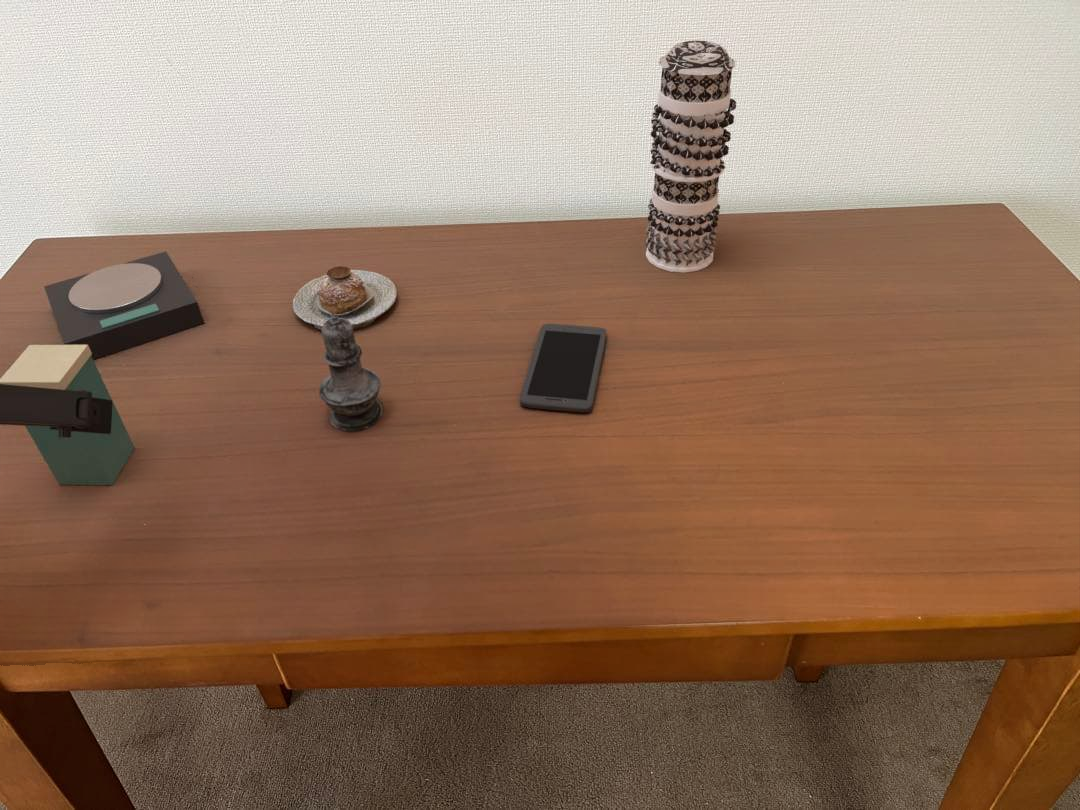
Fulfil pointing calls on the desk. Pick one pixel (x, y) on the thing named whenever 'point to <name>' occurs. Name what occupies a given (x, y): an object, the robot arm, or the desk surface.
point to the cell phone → (564, 368)
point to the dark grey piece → (348, 380)
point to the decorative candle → (689, 155)
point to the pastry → (345, 297)
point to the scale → (127, 313)
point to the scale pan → (115, 288)
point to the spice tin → (83, 452)
